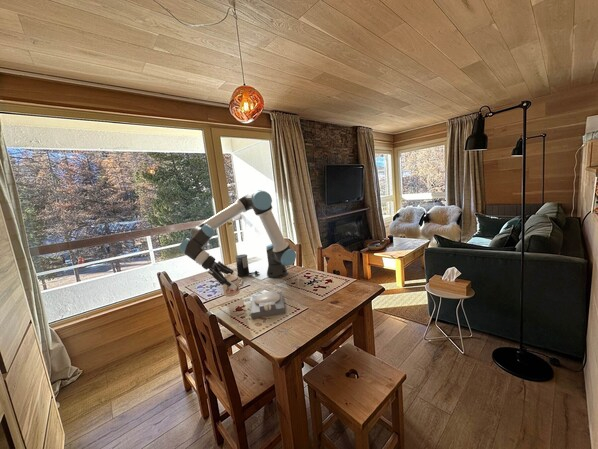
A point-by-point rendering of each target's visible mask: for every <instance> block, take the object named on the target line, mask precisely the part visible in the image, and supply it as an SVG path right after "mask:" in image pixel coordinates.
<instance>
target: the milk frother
mask: <svg viewBox="0 0 598 449" xmlns="http://www.w3.org/2000/svg"><path fill="white" fill-rule="evenodd" d="M234 258H235V263H236V264H235V265H236V271H237V276H238V277H239V278H241V277H247V276H248V275H249V276H250V275H252V274H254V275H258V274H259V273H260V272H259V271H258V270H255V271H254V272H253V271H252V272H250V269H249V262H248V261H249V260H248V254H239V255H236V256H234Z"/></svg>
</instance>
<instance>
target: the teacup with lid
mask: <svg viewBox="0 0 598 449" xmlns="http://www.w3.org/2000/svg"><path fill="white" fill-rule="evenodd" d="M236 275H237V274H235V275H231V273H228V274H226V276H225V275H224V277H225V278H226V279H227V280H229V281H231V282H232V283H233V284H235V285H236V286H237V288H236V289H235V290H232V289H231V288H230V287H228V286H227V285H226V284H224V285H222V291H223V295H224V296H225V297H226V298H227V297H228V298H229V297H234V296H237V295H239V294H240V291H241V290H240V288H241V287H243V286H244V282H245V281H244V279H243V278H241V277H239V276H238V275H237V276H236ZM238 277H239V279H238ZM238 280H241V284H240V283H238Z"/></svg>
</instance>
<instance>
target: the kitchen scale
mask: <svg viewBox="0 0 598 449" xmlns="http://www.w3.org/2000/svg"><path fill="white" fill-rule="evenodd" d="M251 298H252V299H251V307H250V308H251V309H250V316H251V318H250V319H252V318H253V319H257V318H258V317H259V318H265V317H270V316H277V315H283V314H286V307H285V302H284V296H283V291H278V292H274V291H268V292H263V293H260V294H258V295H253V296H252V297H251Z"/></svg>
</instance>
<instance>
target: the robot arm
mask: <svg viewBox="0 0 598 449" xmlns="http://www.w3.org/2000/svg"><path fill="white" fill-rule="evenodd" d="M272 203H273V199H272V196H271V194H270V193H269V192H267V191H265V190H262V189H259V190H251V191H248V192H247V193H245V194H243V195H242V196H240V197H238V198H237V199H236V201H234V203H232V204H231V205H229V206H228V207H226V208H225V209H222V210H220V211H219V212H218V213H217V214H215V215H213V216H211V217H210V218H208V219H206V220H205V221H203V222H202V223H200V224H198V225H195V226H193V227H191V229H190V233H189V234H190V236H191V238H187V237H186V238H185V239H184V240H182V241H181V243H179V246H178V249H179V250H180V251H181V252H182V253H183V254H184V255H185V256H187V257H188V258H189V259H191V260H192V261H194V262H195V263H196V264H198V265H199V266H201V267H202V268H203V269H204V270H206V271H207V270H208V272H207V273H208V274H210V275H211V277H213V278H214V279H215V280H216V281H217V282H218V283H219V284H220V285H222V286H223V285H224V284H226V285H227V286H228V287H230V288H231V289H232V290H235V289H236V288H237V286H236V285H235V284H233V283H232V282H231V281H229V280H227V279H226V278H225V275H224V274H226V275H227V274H228V273H231V275H236V276H238V274H235V273H234V272H235V271H234V270H233V269H232V268H230V267H229V266H227V265H225V264H224V263H222V262H221V261H220V260H218V262H216V258H215V257H214V256H212V255H210V253H209V252H207V251H206V250H205V249H203V247H204V246H205V245H206V244H207V243H208V242H209V241H210V239H212V238H213V236H214V235H215V233H216V231H215V230H217V229H218V228H220V227H222V226H223V225H224V224H226V223H228V222H229V221H231V220H232V219H234V218H235V217H237V216H238V215H240V214H242V213H246V212H248V211H250V210H253V212H254V214H255V215H256V216H258V217H259V219H260V222H261V223H262V226H263V227H264V230H265V231H266V234H267V236H268V237H269V241H270V242H271V243H270V244H268V245H267V246H266V248H265V249H266V256H267V263H268V266H267V270H266V276H267V277H268V278H270V279H278V278H283V277H286V276H287V275H288V269H287V267H290V266H292V265H293V264H294V263H295V262H296V259H297V252H296V250H294V249H293V248H292V247H291V246H290V243H289V242H287V241H286V240H285V238H284V236H283V233H282V231H281V229H280V227H279V225H278V222H277V220H276V218H275V216H274V213H273V211H272V210H273V206H272ZM239 278H240V276H238V279H239ZM238 283H239V284H240V283H242V280H238Z"/></svg>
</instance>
